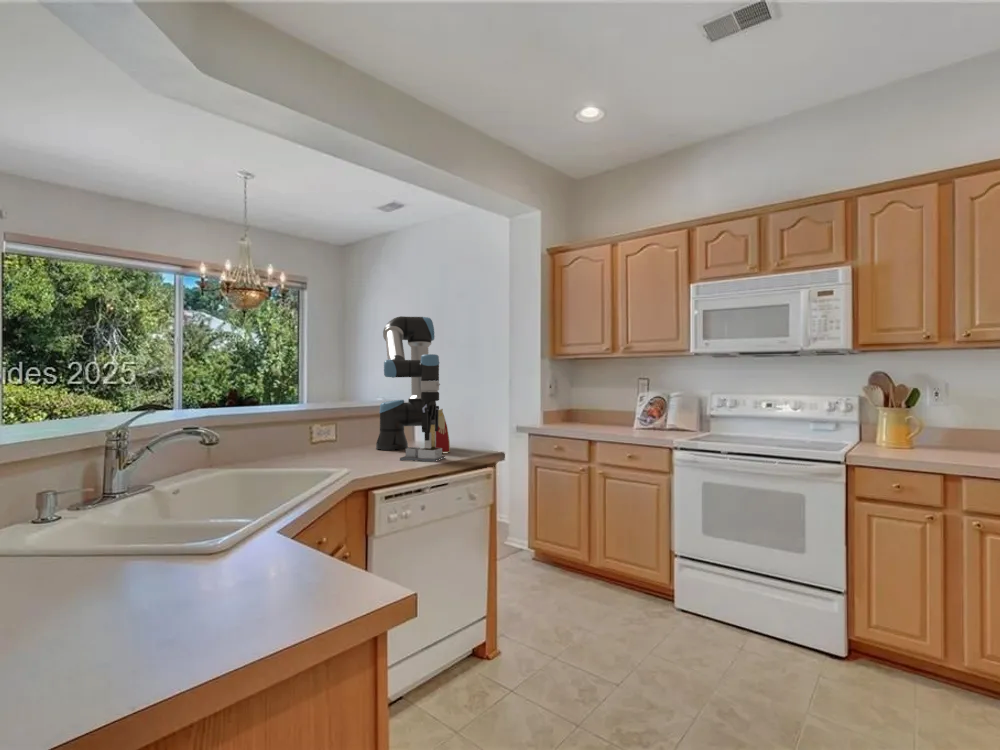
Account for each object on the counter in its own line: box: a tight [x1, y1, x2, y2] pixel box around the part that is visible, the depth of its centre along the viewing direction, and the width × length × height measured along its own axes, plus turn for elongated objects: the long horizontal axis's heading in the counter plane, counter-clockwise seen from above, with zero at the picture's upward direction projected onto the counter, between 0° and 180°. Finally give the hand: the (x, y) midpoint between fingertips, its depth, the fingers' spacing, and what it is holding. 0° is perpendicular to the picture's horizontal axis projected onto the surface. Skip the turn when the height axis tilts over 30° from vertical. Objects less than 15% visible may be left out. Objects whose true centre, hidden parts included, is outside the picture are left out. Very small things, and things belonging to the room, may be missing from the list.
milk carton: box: [435, 408, 451, 454], centre depth 236 cm, size 9×9×20 cm
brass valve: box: [424, 419, 435, 450], centre depth 215 cm, size 4×4×14 cm
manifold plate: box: [399, 446, 446, 462], centre depth 216 cm, size 10×16×4 cm, turn 73°
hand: (430, 447), depth 215 cm, fingers closed on brass valve, 4 cm apart
